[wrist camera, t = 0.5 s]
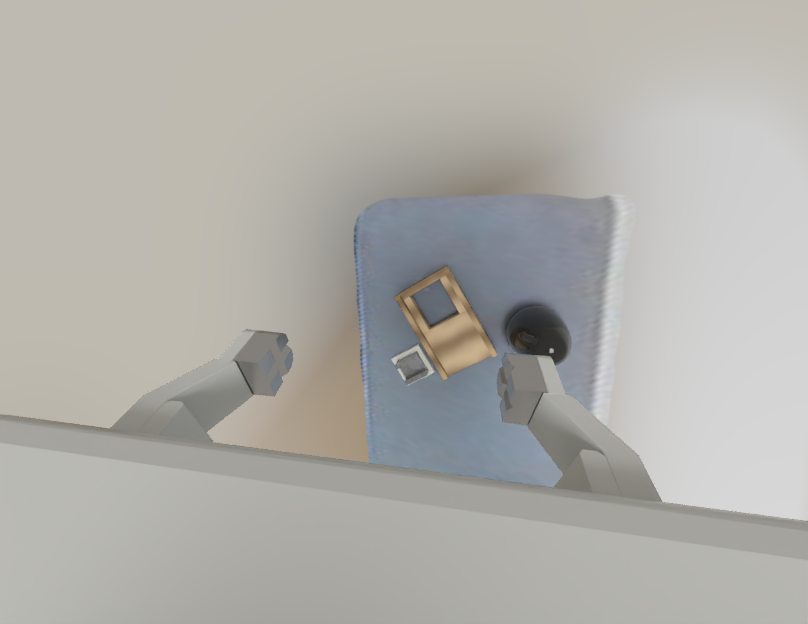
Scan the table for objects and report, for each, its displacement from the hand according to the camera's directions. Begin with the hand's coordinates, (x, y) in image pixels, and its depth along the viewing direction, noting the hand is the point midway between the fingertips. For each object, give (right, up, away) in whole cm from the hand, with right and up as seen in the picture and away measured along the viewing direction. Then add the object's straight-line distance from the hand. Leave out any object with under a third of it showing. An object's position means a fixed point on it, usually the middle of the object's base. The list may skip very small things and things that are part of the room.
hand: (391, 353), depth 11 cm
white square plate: (+3, -10, +53) cm, 54 cm away
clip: (+2, -10, +52) cm, 53 cm away
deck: (+9, 0, +50) cm, 51 cm away
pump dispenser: (+26, -1, +47) cm, 54 cm away
